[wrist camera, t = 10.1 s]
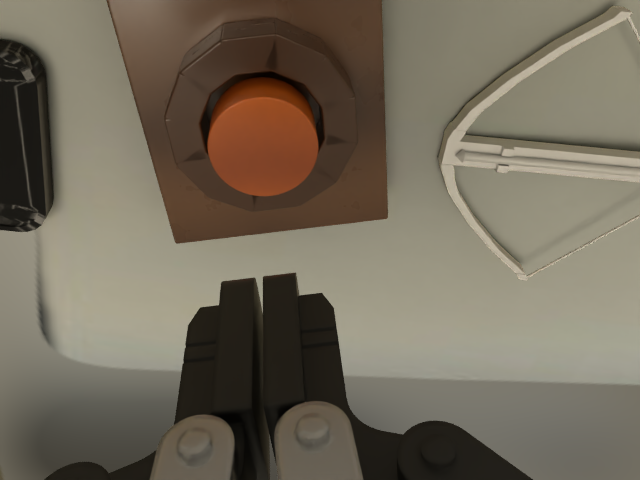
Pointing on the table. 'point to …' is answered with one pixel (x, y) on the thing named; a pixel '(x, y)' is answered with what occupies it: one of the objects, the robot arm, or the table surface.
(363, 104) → the button block
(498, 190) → the table surface
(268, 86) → the button
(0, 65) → the phone
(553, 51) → the crossbow
